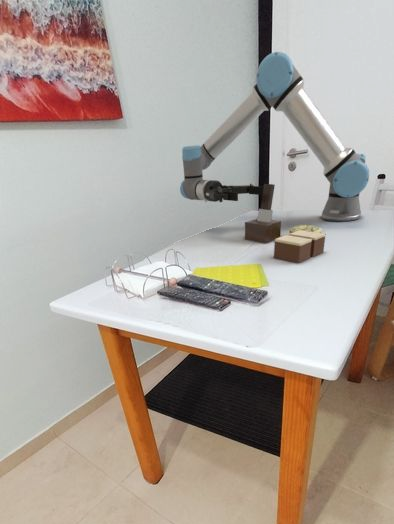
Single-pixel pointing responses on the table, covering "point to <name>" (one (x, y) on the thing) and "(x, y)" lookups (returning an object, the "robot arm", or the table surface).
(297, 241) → the cake slice
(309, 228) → the decorated donut
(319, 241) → the cake
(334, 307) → the table surface
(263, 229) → the knife block
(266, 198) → the knife
